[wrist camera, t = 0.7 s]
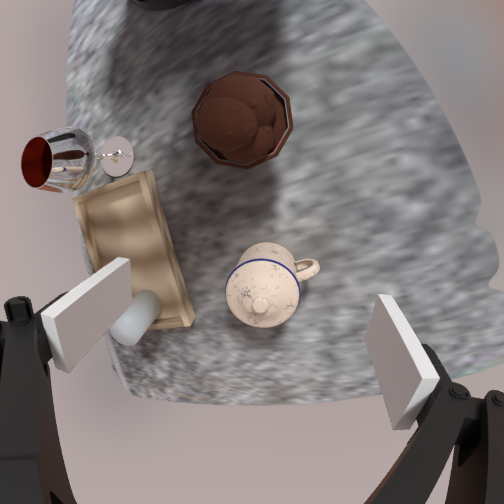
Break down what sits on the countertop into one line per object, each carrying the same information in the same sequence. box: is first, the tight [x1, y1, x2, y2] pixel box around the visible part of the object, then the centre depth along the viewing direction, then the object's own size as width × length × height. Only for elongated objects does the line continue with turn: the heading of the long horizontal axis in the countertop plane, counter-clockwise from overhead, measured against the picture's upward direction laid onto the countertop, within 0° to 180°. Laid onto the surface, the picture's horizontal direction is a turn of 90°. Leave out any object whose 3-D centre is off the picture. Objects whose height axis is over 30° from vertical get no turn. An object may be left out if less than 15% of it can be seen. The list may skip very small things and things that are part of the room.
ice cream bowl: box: [192, 71, 293, 169], centre depth 32 cm, size 11×11×15 cm
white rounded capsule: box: [109, 290, 162, 346], centre depth 43 cm, size 5×5×9 cm
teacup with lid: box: [225, 242, 320, 328], centre depth 39 cm, size 12×9×12 cm
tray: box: [73, 170, 196, 331], centre depth 45 cm, size 24×14×3 cm, turn 13°
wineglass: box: [21, 126, 134, 193], centre depth 34 cm, size 8×8×18 cm
